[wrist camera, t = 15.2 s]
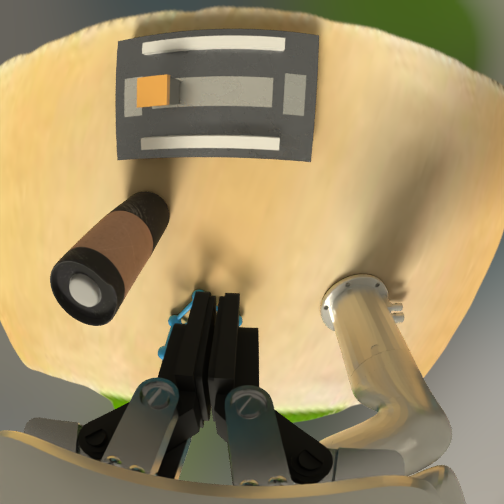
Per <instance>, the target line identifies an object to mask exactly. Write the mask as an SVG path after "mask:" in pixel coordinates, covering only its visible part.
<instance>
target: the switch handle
mask: <svg viewBox="0 0 504 504" xmlns="http://www.w3.org/2000/svg"><path fill="white" fill-rule="evenodd" d="M179 94H180V80H178V79H175V78H172V77H170V75H168V74H166V75H157V76H148V77H141V78H137V108H140V107H150V106H163V105H178V104H179Z"/></svg>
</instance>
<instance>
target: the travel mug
mask: <svg viewBox="0 0 504 504" xmlns="http://www.w3.org/2000/svg"><path fill="white" fill-rule="evenodd" d="M168 222H169V210H168V207H167V205H166V203H165V202H164V200H163V199H162V198H161V197H159V196H158V195H156V194H154V193H152V192H139V193H136V194H134V195H133V196H131V197H130V198H129V199H127V200H126V201H124V202H123V203H122V204H120V205H119V206H118V207H116V208H115V209H114V210H112V211H111V212H110V213H109V214H107V215H106V216H105V217H104V218H103V219H101V220H100V221H99V222H98V223H97V224H96V225H95V226H94V227H93V228H92V229H91V230H90V231H88V232H87V233H86V234H85V235H84V236H83V237H82V238H81V239H80V240H79V241H78V242H77V243H76V244H75V245H74V246H73V247H72V248H71V249H70V250H69V251H68V252H67V253H66V254H65V255H64V256H63V257H62V258H61V259H60V260H59V261H58V262H57V263H56V265H55V266H54V267H53V269H52V272H51V276H50V283H51V288H52V291H53V294H54V296H55V298H56V300H57V301H58V303H59V304H60V306H61V307H62V308H63V309H64V310H65V311H66V312H67V313H68V314H69V315H70V316H72V317H73V318H75V319H76V320H78V321H80V322H82V323H85V324H88V325H93V326H101V325H104V324H107V323H108V322H110V321H111V320H112V319H113V317H114V316H115V314H116V312H117V311H118V309H119V307H120V305H121V304H122V302H123V300H124V299H125V297H126V295H127V293H128V292H129V290H130V288H131V287H132V285H133V283H134V282H135V280H136V278H137V277H138V275H139V274H140V272H141V270H142V269H143V267H144V266H145V264H146V262H147V261H148V259H149V258H150V256H151V254H152V252H153V251H154V249H155V247H156V245H157V243H158V242H159V240H160V238H161V236H162V235H163V233H164V231H165V229H166V227H167V225H168Z"/></svg>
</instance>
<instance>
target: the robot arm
mask: <svg viewBox="0 0 504 504" xmlns="http://www.w3.org/2000/svg"><path fill="white" fill-rule="evenodd" d="M239 303H240V293H225V297H224V296H220V298H219V304H218V310H217V313H216V296H211V293H210V292H200V291H196V293H195V296H194V299H193V303H192V307H191V310H190V314H189V318H188V321H187V324H180V323H175V324H174V326H173V328H172V331H171V335H170V338H169V341H168V344H167V348H166V351H165V354H164V358H163V361H162V364H161V368H160V371H159V375H158V378H151V379H148V380H145V381H144V382H142V383H141V384H140V385H139V386H138V388H137V389H136V391H135V393H134V395H133V397H132V399H131V401H130V402H129V403H127V404H125V405H123V406H121V407H119V408H117V409H115V410H113V411H111V412H109V413H107V414H105V415H103V416H101V417H99V418H97V419H95V420H93V421H90V422H88V423H87V424H85V425H80V424H79V423H78V422H70V421H61V420H53V419H46V418H40V417H39V418H33V419H31V420H29V421H28V422H27V424H26V426H25V429H24V433H21V432H17V431H9V430H8V431H7V430H3V431H0V504H466V502H465V499H464V495H463V492H462V489H461V486H460V484H459V481H458V479H457V477H456V475H455V473H454V471H453V470H452V469H451V468H449V467H448V466H445V465H437V466H434V467H431V468H428V469H426V470H423V471H421V472H418V471H420V470H422V469H424V468H426V467H427V466H429V465H431V464H432V463H433V462H435V461H436V460H438V459H439V458H440V457H441V456H442V455H443V454H444V453H445V452H446V450H447V449H448V447H449V445H450V443H451V439H452V429H451V425H450V422H449V420H448V418H447V416H446V414H445V412H444V411H443V409H442V408H441V406H440V405H439V403H438V402H437V400H436V399H435V397H434V396H433V394H432V392H431V391H430V389H429V387H428V386H427V384H426V382H425V380H424V378H423V377H422V375H421V373H420V371H419V369H418V367H417V365H416V363H415V361H414V359H413V357H412V354H411V352H410V350H409V348H408V346H407V344H406V342H405V340H404V338H403V336H402V334H401V332H400V331H399V329H398V327H397V325H396V323H402V322H403V321H404V314H403V313H402V312H400V313H391V311H401V310H402V308H403V305H402V303H395V304H391V302H389V294H388V290H387V288H386V286H385V285H384V283H383V282H382V281H381V280H380V279H379V278H377V277H375V276H372V275H368V274H358V275H353V276H350V277H347V278H345V279H343V280H340V281H339V282H338V283H336V284H335V285H333V286H332V287H331V288H330V289H329V290H328V292H327V293H326V294H325V296H324V298H323V300H322V303H321V307H320V312H321V317H322V320H323V322H324V324H325V325H326V326H327V327H328V328H329V329H331V330H333V331H335V333H336V336H337V339H338V343H339V346H340V349H341V353H342V356H343V360H344V363H345V367H346V371H347V374H348V378H349V382H350V385H351V389H352V392H353V394H354V396H355V397H356V399H357V400H358V401H359V402H360V403H361V404H363V405H364V406H366V407H368V408H370V409H372V410H374V411H377V412H378V413H377V414H376V415H375V416H373V417H371V418H369V419H367V420H366V421H365V422H362V423H360V424H358V425H355V426H353V427H351V428H348V429H346V430H343V431H341V432H338V433H336V434H334V435H331V436H329V437H327V438H325V439H323V440H321V441H320V442H318V441H317V440H315V439H314V438H313V437H311V436H310V435H308V434H307V433H305V432H304V431H303V430H301V429H300V428H298V427H297V426H296V425H294V424H293V423H292V422H290V421H289V420H288V419H286V418H285V417H284V416H282V415H281V414H280V413H278V412H277V411H276V410H274V406H273V402H272V399H271V397H270V395H269V394H268V393H267V392H266V391H265V390H263V389H262V388H260V387H259V341H258V328H243V327H239ZM211 408H212V415H213V421H216V428H217V434H218V435H220V437H221V438H223V439H224V440H225V441H226V442H227V445H228V453H229V460H230V469H231V477H232V484H233V485H219V484H207V483H198V482H190V481H183V480H178V479H179V476H180V473H181V470H182V467H183V464H184V461H185V458H186V455H187V452H188V449H189V446H190V443H191V438H192V436H193V435H195V434H196V433H198V432H199V429H200V427H202V428H203V425H204V421H209V419H210V411H211ZM416 472H418V473H416ZM414 473H416V474H414ZM411 474H414V475H412V476H409V475H411Z"/></svg>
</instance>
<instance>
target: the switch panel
mask: <svg viewBox="0 0 504 504" xmlns="http://www.w3.org/2000/svg"><path fill="white" fill-rule="evenodd" d="M318 49H319V35H312V34H305V33H296V32H287V31H275V30H259V29H209V30H193V31H181V32H172V33H164V34H156V35H150V36H144V37H138V38H133V39H128V40H123V41H118V50H117V67H116V139H117V157H118V160H127V159H144V158H169V157H236V158H261V159H279V160H293V161H305V162H311V154H312V143H313V132H314V119H315V105H316V90H317V72H318ZM166 74H168V75H170V77H172V78H175V79H178V80H180V94H179V104H178V105H163V106H150V107H140V108H137V78H141V77H148V76H157V75H166Z"/></svg>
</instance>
